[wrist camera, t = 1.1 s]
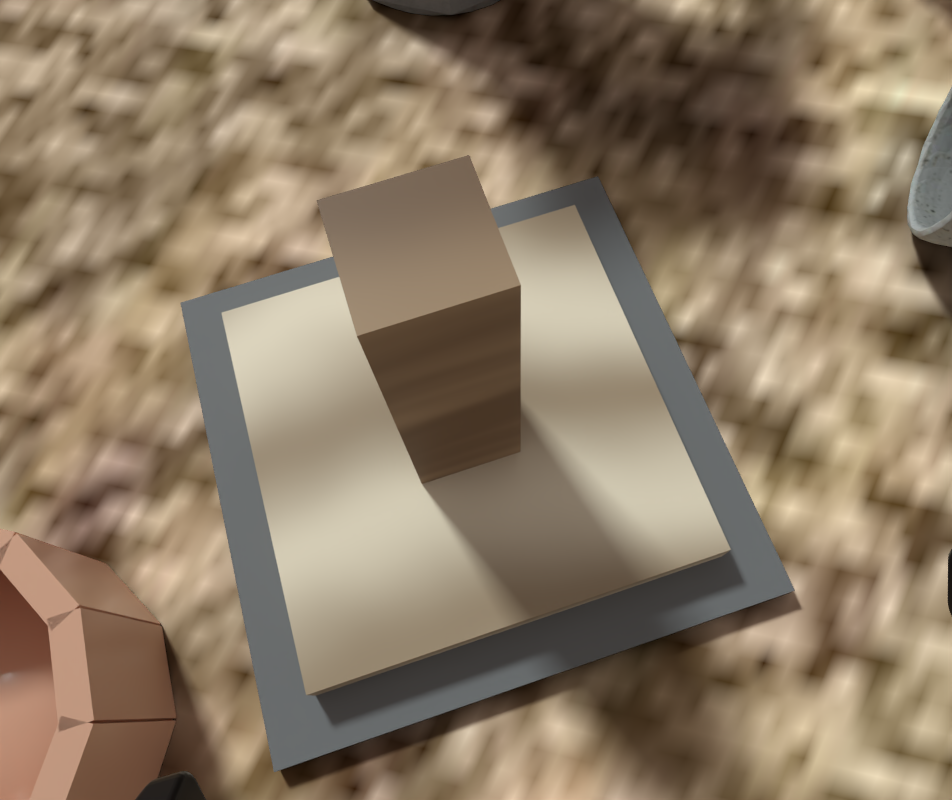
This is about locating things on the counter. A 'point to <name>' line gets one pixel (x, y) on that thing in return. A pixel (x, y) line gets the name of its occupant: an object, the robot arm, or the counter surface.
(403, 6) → the coffeepot
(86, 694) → the terracotta bowl
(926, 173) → the ceramic mug
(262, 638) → the rubber mat
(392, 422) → the square lid with knob
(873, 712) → the counter surface
